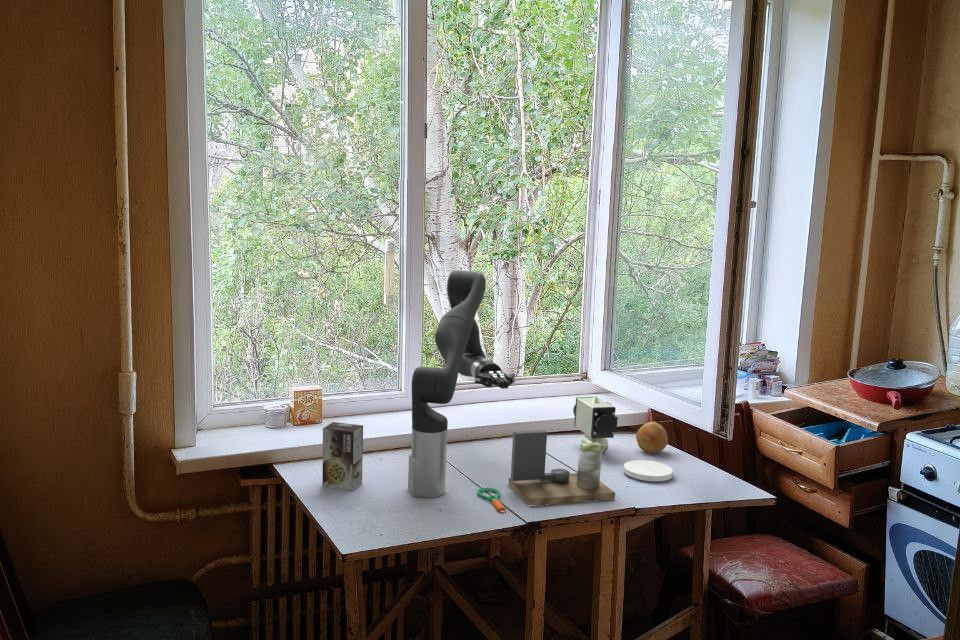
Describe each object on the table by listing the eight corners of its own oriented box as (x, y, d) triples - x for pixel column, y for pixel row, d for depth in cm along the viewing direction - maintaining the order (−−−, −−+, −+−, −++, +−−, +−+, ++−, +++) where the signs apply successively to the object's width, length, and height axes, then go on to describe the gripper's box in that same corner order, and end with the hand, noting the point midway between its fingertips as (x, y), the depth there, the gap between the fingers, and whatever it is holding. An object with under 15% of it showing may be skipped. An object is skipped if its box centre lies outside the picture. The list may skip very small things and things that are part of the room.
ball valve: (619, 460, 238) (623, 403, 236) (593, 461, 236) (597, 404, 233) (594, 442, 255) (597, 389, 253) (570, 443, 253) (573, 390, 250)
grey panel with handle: (514, 486, 205) (517, 435, 203) (508, 480, 210) (511, 430, 208) (572, 482, 210) (575, 432, 208) (564, 476, 215) (567, 427, 213)
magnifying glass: (473, 492, 207) (474, 486, 206) (495, 491, 208) (496, 485, 208) (490, 514, 192) (490, 508, 192) (513, 513, 194) (513, 506, 194)
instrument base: (529, 506, 198) (532, 454, 196) (508, 484, 213) (510, 436, 211) (614, 499, 205) (618, 450, 203) (588, 479, 220) (591, 432, 218)
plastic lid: (645, 465, 236) (646, 457, 235) (682, 479, 224) (683, 471, 224) (613, 473, 227) (613, 464, 227) (649, 488, 216) (650, 479, 216)
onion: (632, 447, 252) (635, 417, 251) (663, 449, 252) (666, 419, 251) (637, 456, 243) (639, 425, 241) (669, 458, 242) (672, 427, 241)
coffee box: (363, 483, 208) (364, 425, 206) (352, 491, 202) (354, 431, 200) (332, 478, 211) (333, 421, 209) (320, 486, 205) (322, 427, 202)
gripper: (465, 360, 235) (483, 372, 218) (507, 359, 239) (527, 371, 222) (464, 384, 236) (482, 398, 219) (506, 383, 240) (526, 397, 223)
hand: (505, 385), depth 221 cm, fingers closed
